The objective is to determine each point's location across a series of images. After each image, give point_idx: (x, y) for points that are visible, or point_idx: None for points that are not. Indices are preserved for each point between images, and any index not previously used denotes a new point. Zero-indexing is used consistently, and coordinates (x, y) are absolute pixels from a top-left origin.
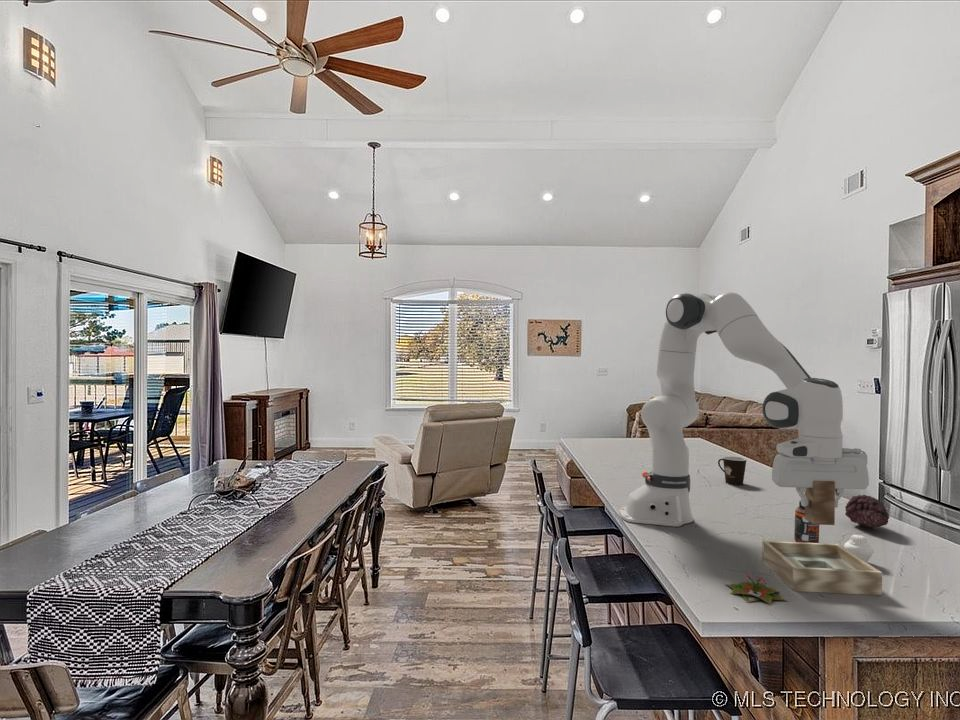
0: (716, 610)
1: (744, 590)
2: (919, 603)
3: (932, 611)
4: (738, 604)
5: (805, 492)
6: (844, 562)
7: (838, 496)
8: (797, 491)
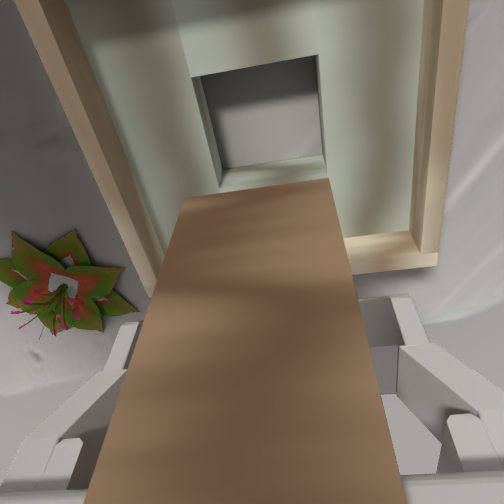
0: (2, 369)
1: (36, 287)
2: (492, 244)
3: (486, 280)
4: (37, 341)
5: (134, 376)
6: (412, 38)
7: (438, 430)
8: (44, 439)
